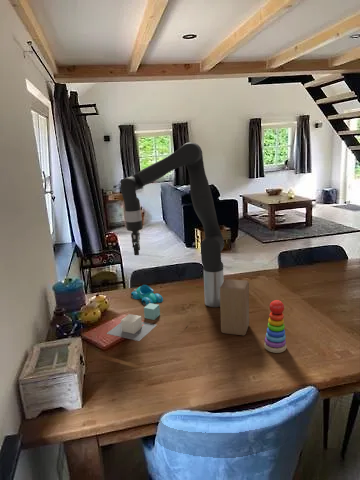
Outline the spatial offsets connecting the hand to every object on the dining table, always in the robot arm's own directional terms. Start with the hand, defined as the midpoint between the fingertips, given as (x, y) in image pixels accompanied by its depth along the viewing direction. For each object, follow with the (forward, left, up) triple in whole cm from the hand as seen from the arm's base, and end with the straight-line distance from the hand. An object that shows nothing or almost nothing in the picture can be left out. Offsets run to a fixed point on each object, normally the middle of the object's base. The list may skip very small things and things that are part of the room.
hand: (137, 252), depth 176 cm
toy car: (-2, -2, -25) cm, 25 cm away
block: (-53, +11, -25) cm, 59 cm away
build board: (-14, +28, -25) cm, 40 cm away
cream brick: (-14, +28, -24) cm, 39 cm away
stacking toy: (-71, +19, -25) cm, 77 cm away
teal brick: (-16, +15, -25) cm, 33 cm away
